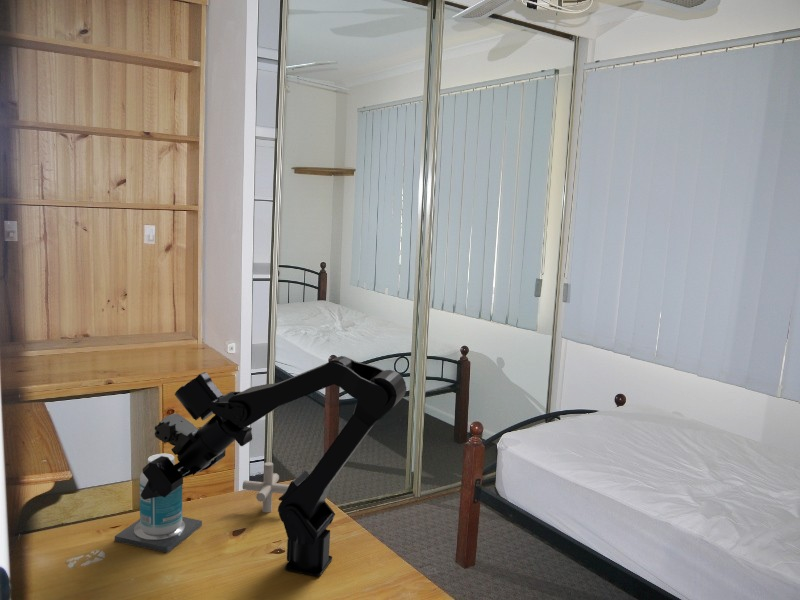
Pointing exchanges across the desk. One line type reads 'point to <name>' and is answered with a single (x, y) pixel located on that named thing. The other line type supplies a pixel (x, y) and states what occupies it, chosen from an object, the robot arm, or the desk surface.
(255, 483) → the pipe connector
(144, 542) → the flange plate
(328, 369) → the robot arm
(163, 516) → the pill bottle
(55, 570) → the desk surface
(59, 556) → the desk surface
